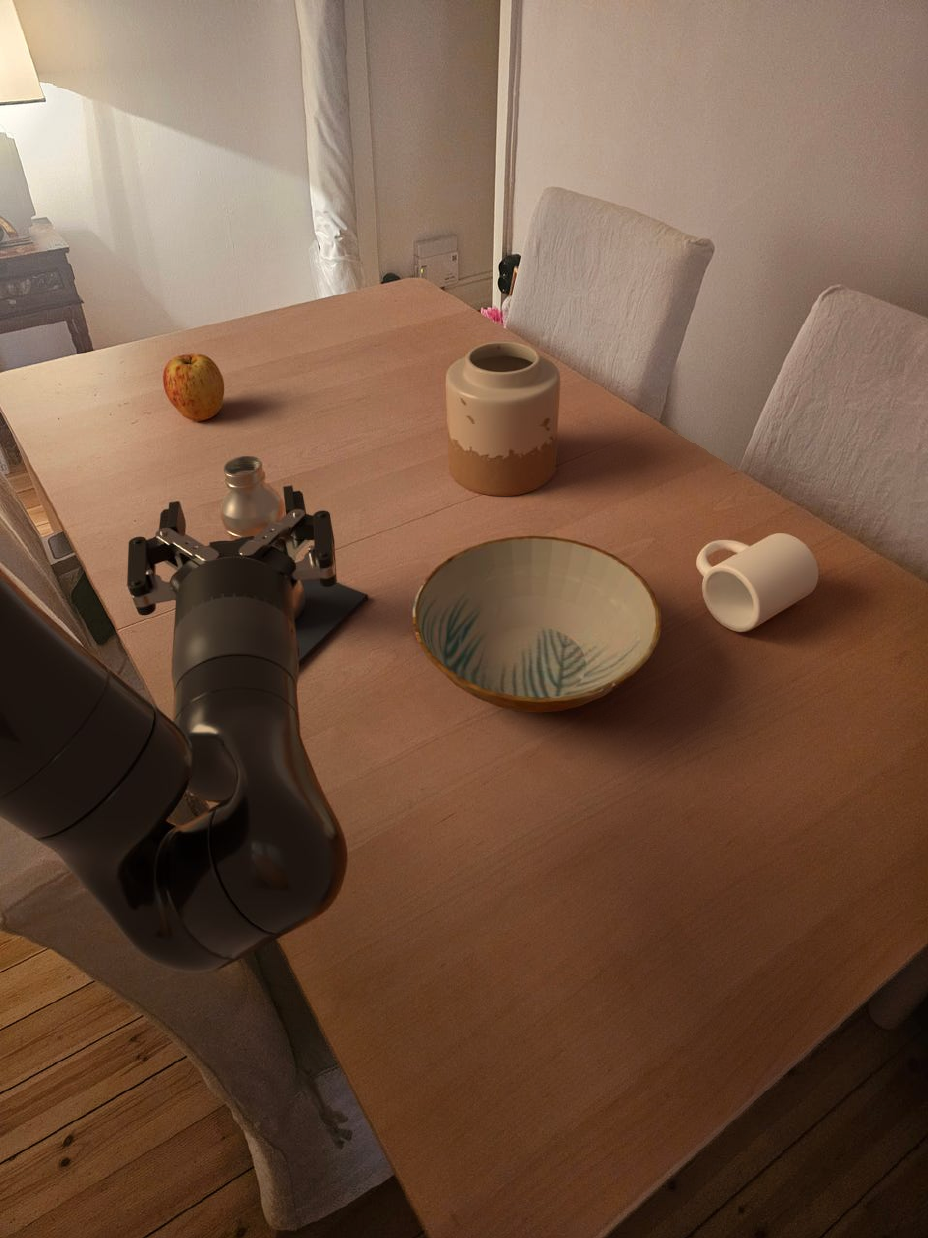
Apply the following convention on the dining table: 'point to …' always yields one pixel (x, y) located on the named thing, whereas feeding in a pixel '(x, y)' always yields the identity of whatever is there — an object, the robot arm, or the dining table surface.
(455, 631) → the bowl
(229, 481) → the silver metal bottle
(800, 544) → the mug
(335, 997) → the dining table surface
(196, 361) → the apple
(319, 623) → the mat
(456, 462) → the vase
